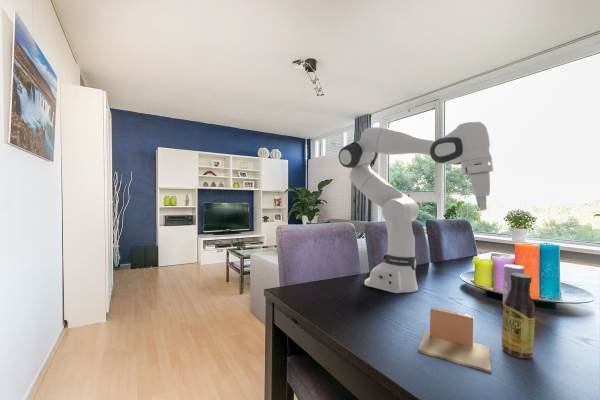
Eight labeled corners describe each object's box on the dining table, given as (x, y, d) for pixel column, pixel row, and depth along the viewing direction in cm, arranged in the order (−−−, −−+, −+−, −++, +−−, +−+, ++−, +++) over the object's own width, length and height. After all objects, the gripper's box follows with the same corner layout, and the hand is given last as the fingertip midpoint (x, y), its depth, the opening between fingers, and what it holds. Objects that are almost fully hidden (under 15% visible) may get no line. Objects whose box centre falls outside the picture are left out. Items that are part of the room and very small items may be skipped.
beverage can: (527, 311, 94) (528, 268, 94) (508, 310, 96) (509, 267, 96) (517, 305, 100) (518, 264, 100) (499, 303, 101) (500, 263, 101)
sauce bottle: (495, 346, 71) (496, 270, 71) (517, 346, 72) (518, 270, 72) (517, 361, 65) (518, 278, 65) (541, 360, 65) (543, 277, 65)
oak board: (418, 351, 68) (418, 349, 68) (425, 332, 78) (425, 330, 78) (491, 373, 60) (491, 370, 60) (488, 348, 70) (488, 346, 70)
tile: (429, 335, 75) (430, 308, 75) (430, 333, 77) (431, 306, 76) (472, 347, 70) (473, 317, 70) (472, 344, 71) (473, 315, 71)
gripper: (465, 171, 104) (469, 207, 104) (467, 168, 86) (472, 212, 86) (485, 168, 101) (489, 205, 100) (491, 165, 83) (497, 210, 83)
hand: (482, 208), depth 93 cm, fingers open, 8 cm apart
